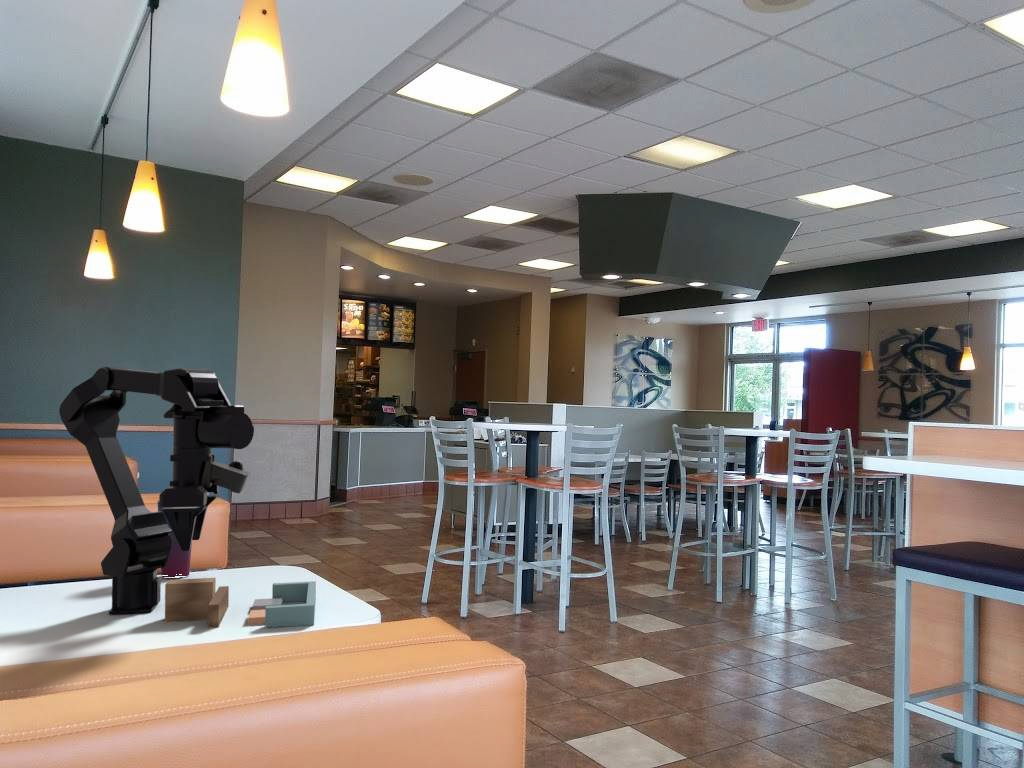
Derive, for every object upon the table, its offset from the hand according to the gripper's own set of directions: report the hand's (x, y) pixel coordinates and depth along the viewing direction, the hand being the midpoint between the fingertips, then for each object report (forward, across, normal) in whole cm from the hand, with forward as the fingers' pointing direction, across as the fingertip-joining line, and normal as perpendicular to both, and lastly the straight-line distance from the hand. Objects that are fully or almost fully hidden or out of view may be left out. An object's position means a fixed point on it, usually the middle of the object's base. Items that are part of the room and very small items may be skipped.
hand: (191, 545), depth 123 cm
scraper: (+12, 0, 0) cm, 12 cm away
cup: (+12, +32, +8) cm, 35 cm away
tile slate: (+12, +3, -12) cm, 17 cm away
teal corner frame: (+12, 0, -15) cm, 19 cm away
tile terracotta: (+12, -4, -12) cm, 17 cm away
